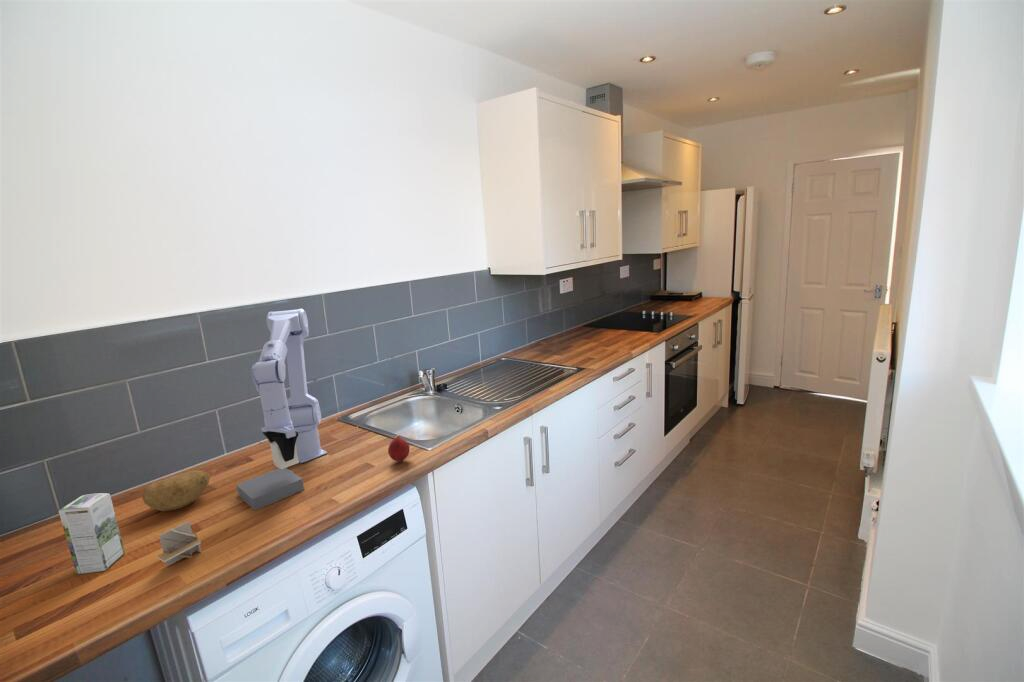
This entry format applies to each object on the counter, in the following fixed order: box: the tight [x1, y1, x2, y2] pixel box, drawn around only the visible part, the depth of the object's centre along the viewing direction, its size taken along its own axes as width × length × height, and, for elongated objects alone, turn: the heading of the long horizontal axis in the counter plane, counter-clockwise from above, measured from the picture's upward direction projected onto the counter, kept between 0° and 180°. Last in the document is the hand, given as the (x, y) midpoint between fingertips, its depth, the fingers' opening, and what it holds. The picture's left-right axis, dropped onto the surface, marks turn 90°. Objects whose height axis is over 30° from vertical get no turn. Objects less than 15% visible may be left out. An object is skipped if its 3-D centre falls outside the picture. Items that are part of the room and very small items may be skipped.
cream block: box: [269, 441, 300, 469], centre depth 122 cm, size 4×4×6 cm
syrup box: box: [58, 492, 125, 575], centre depth 97 cm, size 6×6×14 cm
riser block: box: [235, 467, 305, 511], centre depth 122 cm, size 12×12×3 cm
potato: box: [142, 470, 211, 512], centre depth 119 cm, size 10×14×8 cm
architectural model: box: [156, 520, 202, 567], centre depth 96 cm, size 3×7×7 cm, turn 148°
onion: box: [387, 434, 410, 463], centre depth 133 cm, size 6×6×8 cm
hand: (285, 457), depth 122 cm, fingers closed on cream block, 4 cm apart
